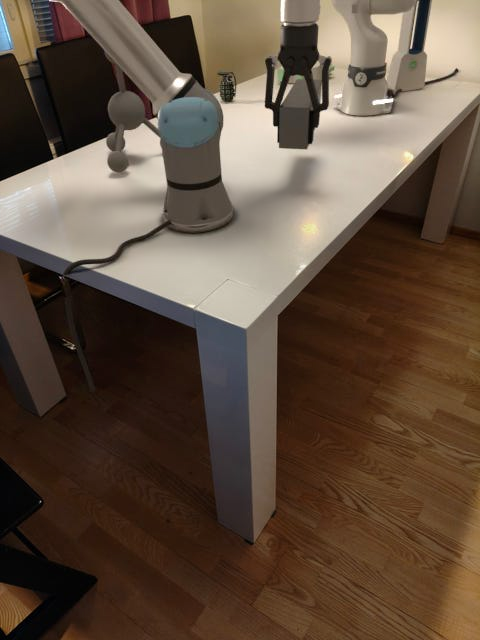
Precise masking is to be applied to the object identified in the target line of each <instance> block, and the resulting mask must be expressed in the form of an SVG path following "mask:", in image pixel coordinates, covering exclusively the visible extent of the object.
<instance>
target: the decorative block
mask: <svg viewBox="0 0 480 640" xmlns="http://www.w3.org/2000/svg"><path fill="white" fill-rule="evenodd" d="M335 67H336V66H335V65H333V60H332V61H331V64H330V67H329V76H330V75H331V74H332V72H333V71H335ZM311 70H312V74H313V79H314V80H322V68H320V63H319V61H317V62H316V64H315V65H314V66H313V68H312V69H311ZM284 71H285V70H284V68H283V67H282V65H281V66H279V68H277V71H276V72H277V77H276V78H277V80H276V81H277V82H279V83H281V81H282V78H283V75H284ZM297 79H305V78H304V76H300V75H294V76H290V78H289V81H288V84H294V83H295V82H296V80H297Z"/></svg>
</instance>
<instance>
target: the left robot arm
mask: <svg viewBox="0 0 480 640" xmlns="http://www.w3.org/2000/svg"><path fill="white" fill-rule="evenodd" d="M48 2H53V3H54V2H55V3H61V4H62V5H63V6H64V7H65V9H66V10H68V12H69V13H70V14H71V15H72V16H73V17H74V19H76V21H77V22H78V23H79V25H81V27H83V28H84V29H85V31H87V33H88V34H89V35H90V36H91V37H92V38H93V39H94V41H96V43H97V44H98V45H99V46H100V47H101V48H102V49H103V51H104V50H105V51H106V52H107V53H108V54H109V56H110V57H111V58H112V59H113V60H114V61H115V62H116V63H117V64H118V65H119V67H120V68H121V69H122V72H124V74H125V75H126V76H128V78H129V79H130V80H131V81H132V82H133V83H134V84H135V85H136V87H137V88H138V89H139V90H140V92H142V93H143V94H144V96H145V97H146V98H147V99H148V100H149V101H150V102H151V104H152V114H153V116H154V117H155V118H156V119H157V129H158V131H159V134H160V137H159V141H160V140H161V146H160V148H161V147H162V148H161V153H162V159H163V168H164V173H165V180H166V190H165V191H166V192H165V196H164V203H163V207H162V218H163V223H162V224H160V225H158V226H157V227H155V228H153V230H151V231H149V232H147V233H145V234H142V235H139V236H136V237H132V238H130V239H127V240H125V241H123V242H122V243H121V244H120V245H118V247H117V249H116V251H115V252H114V253H113V254H111V255H110V256H107V257H104V258H88V259H86V258H85V259H80V260H76V261H73V262H72V263H70V264H69V265H68V266H67V267H66V268H65V270H64V271H63V273H62V275H63V276H68V275H69V274H70V273H71V272H72V271H73V270H74V269H76V268H78V267H81V266H85V265H86V266H87V265H102V264H107V263H111V262H113V261H115V260H117V259H118V258H119V257H120V256H121V255H122V253H123V251H124V249H126V248H127V247H128V246H129V245H132V244H134V243H138V242H142V241H144V240H147V239H149V238H152V237H153V236H154V235H155V236H156V234H157V233H160V231H163V230H164V229H166V228H169V229H171V230H173V231H177V232H180V233H190V234H191V233H192V234H193V233H194V234H195V233H196V234H197V233H205V232H206V233H207V232H210V231H215V230H216V229H220V228H222V227H224V226H226V225H227V224H228V223H230V221H231V220H232V218H233V216H234V212H233V211H234V210H233V204H232V201H231V200H230V197H229V195H228V192H227V190H226V187H225V184H224V182H223V175H222V174H223V173H222V164H221V163H222V161H221V147H220V146H221V145H220V144H221V142H220V141H221V136H222V131H223V127H224V111H223V107H222V105H221V104H220V101H219V100H218V98H217V97H216V95H214V94H213V93H212V92H211V91H209V90H208V89H206V88H204V87H202V85H201V84H200V83H199V82H198V80H197V79H196V78H195V77H194V76H193V75H192V74H191V73H183V72H180V71H179V69H178V68H177V67H176V66H175V64H174V63H173V62H172V61H171V60H170V59H169V58H168V56H167V55H166V54H165V53H164V52H163V51H162V49H161V48H160V47H159V46H158V45H157V43H156V42H155V41H154V40H153V39H152V38H151V36H150V35H149V34H148V33H147V32H146V31H145V30H144V28H143V27H142V26H141V24H139V22H138V21H137V20H136V19H135V17H134V16H133V15H132V14H131V13H130V11H129V10H127V8H126V7H125V6H124V5H123V3H122V2H121V1H120V0H48ZM319 9H320V10H321V0H280V22H281V23H282V24H281V26H280V27H279V28H280V31H279V32H280V33H279V34H280V35H279V37H280V38H279V40H280V41H279V42H280V43H279V51H278V53H277V54H275V55H272V56H271V55H268V56H267V57H266V59H265V60H264V63H265V68H266V81H265V82H266V83H265V95H264V108H265V109H268V110H270V111H272V125H273V127H277V133H276V134H277V135H276V137H277V142H276V143H277V144H279V110H280V106H281V104H282V103H283V100H284V96H285V93H286V91H287V87H288V84H289V83H288V81H289V78H290V76H294V75H300V76H304V78H305V81H306V84H307V87H308V91H309V95H310V99H311V103H312V107H313V110H311V113H310V125H309V143H308V144H309V145H312V144H313V142H314V135H315V129H318V128H319V125H320V118H321V117H320V115H321V112H323V111H327V110H328V108H329V105H330V75H329V67H330V64H331V61H332V62H333V58H332V57H331V56H330V55H329V56H324V55H321V54H320V52H319V49H318V43H319V27H320V25H318V23H316V22H318V21H319V20H320V14H319ZM105 51H104V52H105ZM317 61H319V63H320V68H322V86H321V102H320V103H319V99H318V95H317V91H316V87H315V83H314V79H313V74H312V70H311V69H312V68H313V66H314V65H315V64H316V62H317ZM278 62H279V63H280V65H281V66H282V67H283V68H284V70H285V71H284V75H283V78H282V81H281V82H280V85H279V88H278V91H277V94H276V97H275V101H273V98H274V97H273V95H274V83H275V74H276V73H275V72H276V68H277V66H278ZM314 128H315V129H314ZM64 304H65V310H66V316H67V317H66V318H67V322H68V326H69V330H70V335H71V337H72V341H73V343H74V346H75V350H76V352H77V356H78V357H79V360H80V364H81V367H82V368H83V371H84V374H85V378H86V380H87V383H88V386H89V390H90V392H91V393H95V392H96V388H95V385H94V380H93V378H92V375H91V373H90V369H89V366H88V364H87V361H86V358H85V355H84V353H83V349H82V347H81V344H80V341H79V337H78V334H77V331H76V327H75V322H74V315H73V310H72V303H71V298H69V297H65V296H64Z"/></svg>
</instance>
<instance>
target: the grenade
mask: <svg viewBox="0 0 480 640" xmlns="http://www.w3.org/2000/svg"><path fill="white" fill-rule="evenodd" d="M216 75H217V76H219V77H221V78H222V79H221V80H220V82H219V91H218V92H219V97H220V100H221V101H222V102H223V103H230V102H232V101H233V100H234V99H235V98H236V95H237V94H236V93H237V77H236V76H235V74H234V71H233V70H231V71H226V70H225V71H224V70H223V71H218V72H217V73H216ZM233 81H234V82H233Z"/></svg>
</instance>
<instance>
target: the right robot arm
mask: <svg viewBox="0 0 480 640" xmlns="http://www.w3.org/2000/svg"><path fill="white" fill-rule="evenodd" d="M331 2H332V5H333V8H334V9H335V11H336V12H337V13H338V14H339V15H340V16H341V17H342V19H343V20H344V21H345V23H346V25H347V28H348V31H349V35H350V60H349V64H348V68H347V77H348V78H347V79H346V80H345V81H344V82H343V83H342V89H341V94H337V95H334V98H335V99H336V98H340V103H338V104H336V106H335V109H336V110H339V111H341V112H342V113H343V114H346V115H351V116H360V117H362V116H363V117H365V116H366V117H367V116H377V115H381V114H390V113H391V112H392V108H393V104H394V99H395V98H396V97H397V95H398V94H399V93H400V92H403V91H402V89H399V90H397V91H394V90H392V89H389V88H388V84H387V78H386V75H387V66H388V62H386V60H387V59H386V58H387V52H388V35H387V34H386V32H385V31H384V30H382V29H381V28H379V27H378V26H376V25H374V23H373V21H372V18H371V17H372V16H373V15H399V14H403V12H407V11H410V10H411V9H412V7H413V6H414V5H415V3H416V2H417V3H418V1H417V0H331ZM320 14H321V8H320V9H319V15H320ZM457 68H458V67H456V68H455V69H454V71H453V72H451V73H450V74H448V75H446V76H443V77H439V78H435V79H432V80H427V81H425V85H429V84H432V83H436V82H441V81H444V80H446V79H448V78H451V77H452V76H454V75H455V74H456V73H457V72H459V68H458V69H457Z"/></svg>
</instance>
